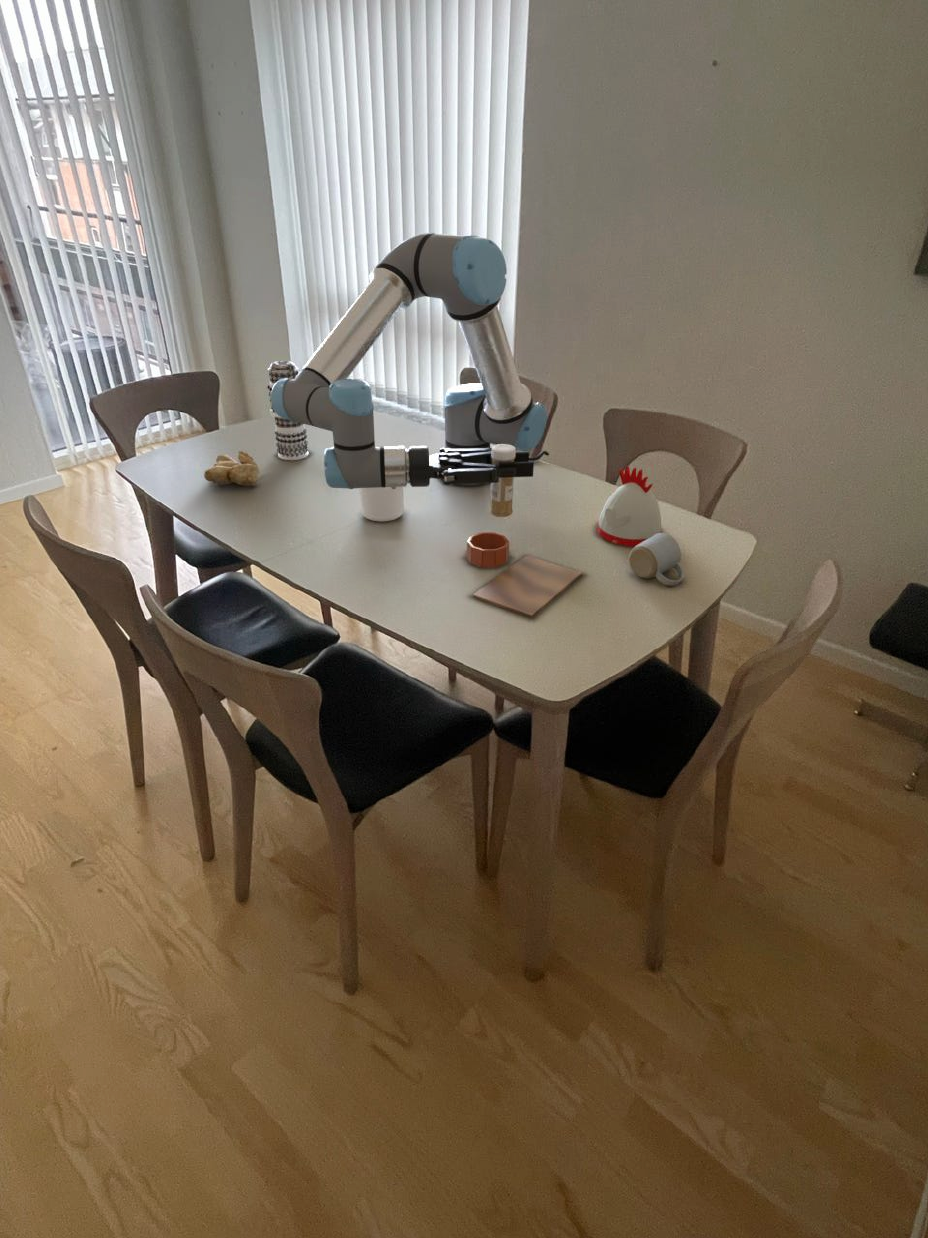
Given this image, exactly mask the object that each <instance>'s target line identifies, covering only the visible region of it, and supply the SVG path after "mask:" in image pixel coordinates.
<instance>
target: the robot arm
mask: <svg viewBox="0 0 928 1238" xmlns="http://www.w3.org/2000/svg"><path fill="white" fill-rule="evenodd" d="M507 269H508V268H507V263H506V259H505V257H504V253H503V251H502V250H501V248H500V247H499V245H498V244H497V243H495V242H494V241H493V240H491V239H489V238H486V237H480V236H477V235H473V234H471V235H468V234H467V235H458V234H457V235H456V234H447V233H446V234H445V233H444V234H443V233H436V232H422V233H418V234H415V235H413V236H410V237H408V238H407V239H405V240H403V241H402V242H401V243H399V244H398V245H396V246H395V247H394V248H392V249H391V250H390V251H389V252H388V253H387V254H386V255H385V256H384V257H382V259H381V260H380V261H379V262H378V264H376V266H375V267H374V268H373V269H372V271H371V273H370V274H369V283H368V285H367V286H366V287H365V289H363V291H362V292H361V294H360V295H359V296H358V297H357V299H356V300H355V301H354V303H352V305H351V306H350V308H349V309H348V310H347V311H346V312H345V314H344V315H343V316H342V317H341V319H340V320H339V321H338V323H337V324H336V325H335V326H334V328H333V329H332V330H331V332H330V333H329V334H328V336H326V338H325V339H324V341H323V342H322V343H321V344H320V345H319V347H318V348H317V349H316V350H315V352H314V353H313V354H312V356H310V358H309V360H308V361H307V362H306V364H304V366H303V367H302V368H301V370H300V371H298V375H297V376H296V378H295V379H293V378H284V379H281V380H279V381H277V382H276V383H275V385H274V386H273V388H272V391H271V402H270V404H271V405H272V408H273V409H274V411H275V413H276V414H278V415H279V416H280V417H283V418H285V419H288V420H290V421H292V422H297V423H302V424H304V425H305V426H306V425H307V426H311V427H315V428H318V429H321V430H324V431H325V430H326V431H329V432H332V440H333V446H331V447H326V448H325V450H324V453H323V465H324V467H323V469H324V470H323V471H324V478H325V482H326V484H327V486H328V487H330V488H332V489H348V490H353V489H360V488H377V487H382V488H383V487H391V488H392V489H396V487H403V488H406V487H407V486H408V484H409V485H410V487H412V488H418V487H419V488H424V487H426V488H427V487H429V486H430V483H431V479H437V480H441V481H443V483H442V484H443V485H444V486H453V485H456V486H466V487H468V486H470V487H471V486H480V485H485V484H491V483H498V482H499V477H514V478H533V477H534V468H535V467H534V465H535V462H534V461H538V460H540V459H541V458H542V457H543V456H544V455H545V456H547V457H548V456H550V453H549V452H548V451H547V450H542V451H541V452H539V454H538V455H536V456H532V457H530V451H532V450H533V449H535V448H536V447H537V446H538V444H539V443H540V441H541V440H542V437H543V436H544V432H545V429H546V426H547V423H548V422H547V420H548V411H547V408H546V406H545V405H544V404H542V403H541V402H539V401H538V402H535V401H534V400H533V399H534V398H533V396H532V393H531V390H530V389H529V388H528V386H527V385H525V384H523V383H521V380H520V379H521V378H520V376H519V373H518V370H517V365H516V363H515V360H514V357H513V353H512V350H511V346H510V343H509V340H508V337H507V333H506V329H505V327H504V324H503V321H502V317H501V313H500V310H499V307H498V306H499V304H500V302H501V299H502V297H503V294H504V292H505V289H506V287H507V286H506V285H507V278H506V275H507V271H508V270H507ZM424 297H427V298H434V299H440V300H442V303H443V305H444V308H445V311H446V314H447V315H448V316H449V318H450V319H452V320H454V321H455V322H458V324H459V327H460V330H461V332H462V335H463V338H464V340H465V343H466V346H467V348H468V353H469V354H470V357H471V360H472V363H473V365H474V368H475V370H476V374H477V377H478V379H479V382H480V383H479V382H477V383H466V384H459V385H456V386H453V387H450V388H449V389H448V390H446V392H445V398H444V406H443V408H444V447H440V448H439V453H433V454H430V450H429V449H430V448H429V447H428V446H426V445H411V446H410V447H408V449H407V448H406V446H405V445H398V446H397V445H394V446H376V440H375V439H376V438H375V417H374V416H375V415H374V410H375V406H374V401H373V396H372V388H371V386H370V384H369V383H368V382H366V381H365V380H362V379H357V378H355V379H352V378H349V377H350V376H351V374H352V373H353V372H354V370H355V369H356V368H357V366H359V364H360V362H361V361H362V360H363V359H364V357H365V356H366V355H367V353H368V352H369V351H370V350H371V348H372V347H373V345H374V344H375V343H376V341H377V340H378V339H379V338H380V337H381V335H382V333H384V331H385V330H386V329H387V327H388V326H389V324H390V323H391V322H392V321H393V319H394V318H395V316H397V314H398V313H399V311H400V310H401V311H402V310H406V309H408V308H409V307H410V306H411V304H412V303H413V301H415V300H416V299H419V298H424ZM271 405H270V406H271ZM498 444H508V445H512V446H514V447H515V449H516V455H515V458H514V459H515V460H514V462H499V465H497V464H492V457H491V451H492V447H491V445H498Z"/></svg>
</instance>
